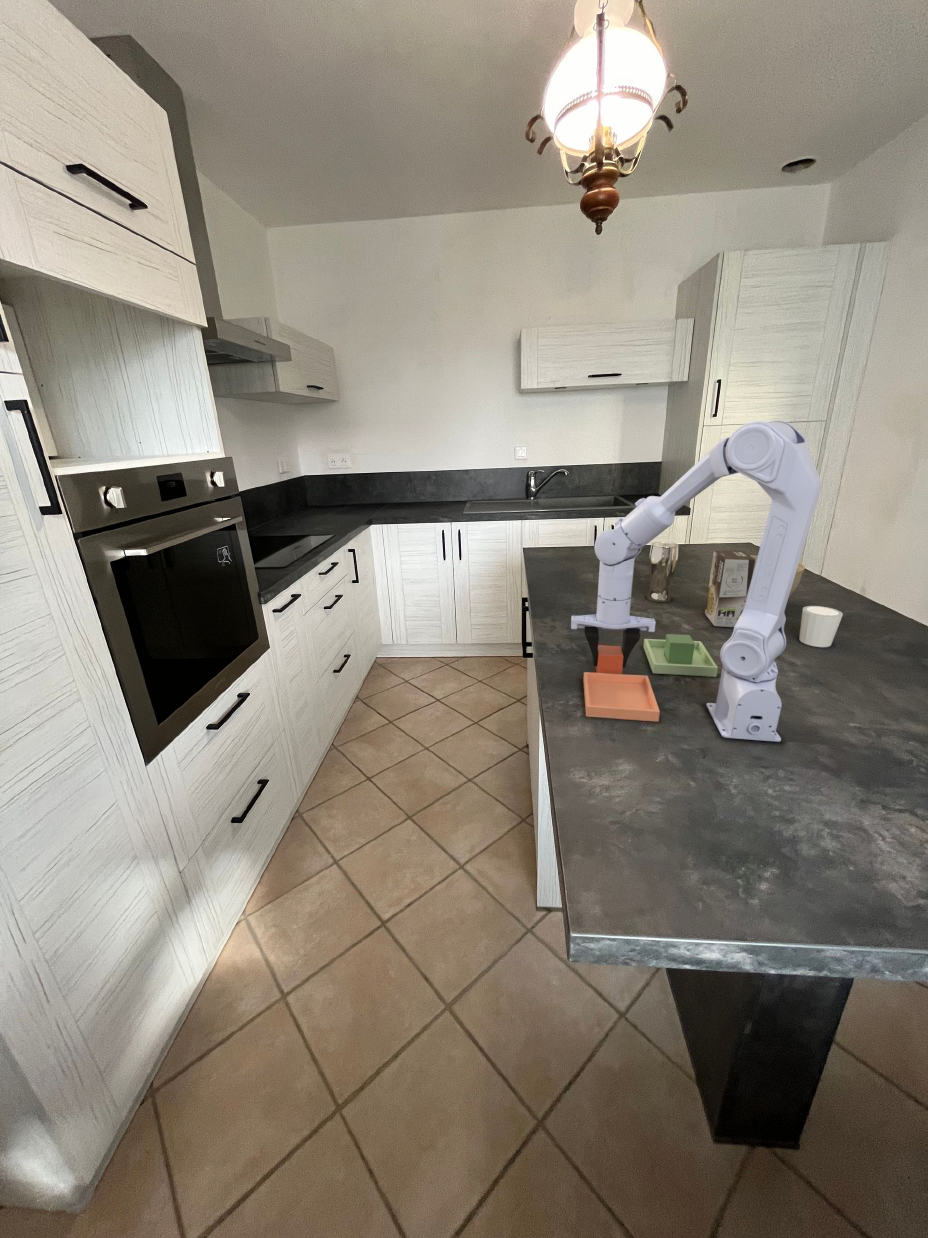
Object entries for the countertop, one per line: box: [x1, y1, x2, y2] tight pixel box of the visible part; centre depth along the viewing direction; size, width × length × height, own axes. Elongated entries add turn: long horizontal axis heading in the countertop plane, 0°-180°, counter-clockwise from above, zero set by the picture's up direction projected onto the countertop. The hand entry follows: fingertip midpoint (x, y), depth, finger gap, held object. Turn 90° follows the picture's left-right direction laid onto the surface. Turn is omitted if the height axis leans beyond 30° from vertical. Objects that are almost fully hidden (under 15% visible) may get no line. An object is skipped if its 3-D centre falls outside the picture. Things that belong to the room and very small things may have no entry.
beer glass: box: [646, 541, 680, 603], centre depth 129 cm, size 7×7×15 cm
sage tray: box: [643, 638, 719, 678], centre depth 96 cm, size 12×11×2 cm
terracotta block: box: [595, 644, 623, 674], centre depth 91 cm, size 4×4×4 cm
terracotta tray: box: [583, 671, 660, 723], centre depth 83 cm, size 12×11×2 cm
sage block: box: [664, 633, 695, 664], centre depth 96 cm, size 4×4×4 cm
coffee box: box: [704, 549, 756, 628], centre depth 113 cm, size 9×6×16 cm
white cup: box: [798, 605, 844, 648], centre depth 102 cm, size 7×7×7 cm
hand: (609, 664), depth 91 cm, fingers closed on terracotta block, 4 cm apart
